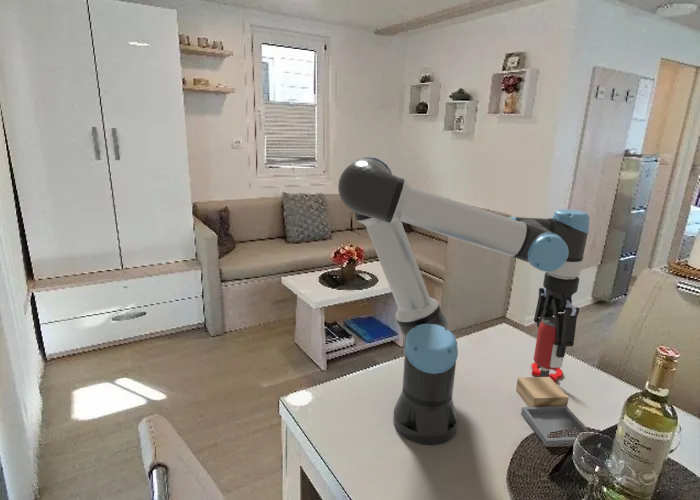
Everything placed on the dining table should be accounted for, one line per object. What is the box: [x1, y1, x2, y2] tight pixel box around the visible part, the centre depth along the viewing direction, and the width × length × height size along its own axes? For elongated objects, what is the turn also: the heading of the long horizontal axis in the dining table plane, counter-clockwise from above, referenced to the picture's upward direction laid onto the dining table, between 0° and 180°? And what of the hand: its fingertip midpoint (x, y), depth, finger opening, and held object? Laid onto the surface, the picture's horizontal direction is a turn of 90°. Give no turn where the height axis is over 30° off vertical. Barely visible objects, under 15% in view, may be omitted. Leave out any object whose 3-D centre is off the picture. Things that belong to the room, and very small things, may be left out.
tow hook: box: [531, 362, 564, 383], centre depth 122 cm, size 8×13×9 cm
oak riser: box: [515, 376, 570, 407], centre depth 109 cm, size 9×9×4 cm
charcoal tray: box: [520, 405, 590, 446], centre depth 99 cm, size 12×12×2 cm
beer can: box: [533, 316, 559, 371], centre depth 105 cm, size 7×7×12 cm
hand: (547, 358), depth 106 cm, fingers closed on beer can, 6 cm apart
